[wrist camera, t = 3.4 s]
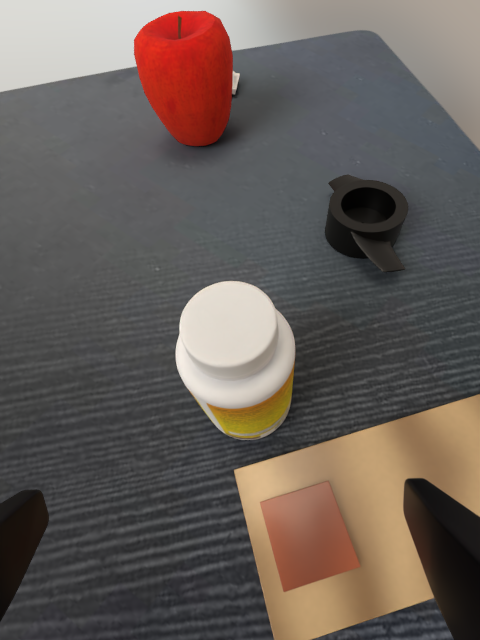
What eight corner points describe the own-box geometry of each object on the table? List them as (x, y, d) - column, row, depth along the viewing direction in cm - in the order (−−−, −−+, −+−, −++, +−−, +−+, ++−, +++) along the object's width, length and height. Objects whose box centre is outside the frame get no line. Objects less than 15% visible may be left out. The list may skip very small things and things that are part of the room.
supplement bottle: (308, 393, 22) (328, 311, 13) (252, 462, 20) (231, 421, 11) (244, 344, 24) (225, 245, 15) (189, 402, 22) (130, 328, 13)
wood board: (276, 648, 16) (276, 653, 15) (234, 470, 20) (233, 469, 19) (657, 519, 17) (671, 520, 16) (541, 375, 21) (549, 371, 20)
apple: (169, 173, 35) (129, 48, 26) (157, 129, 39) (119, 10, 30) (250, 151, 35) (239, 21, 26) (228, 110, 40) (213, -13, 30)
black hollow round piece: (416, 200, 29) (429, 171, 27) (398, 289, 25) (412, 264, 22) (329, 186, 31) (333, 158, 29) (298, 266, 27) (300, 240, 24)
